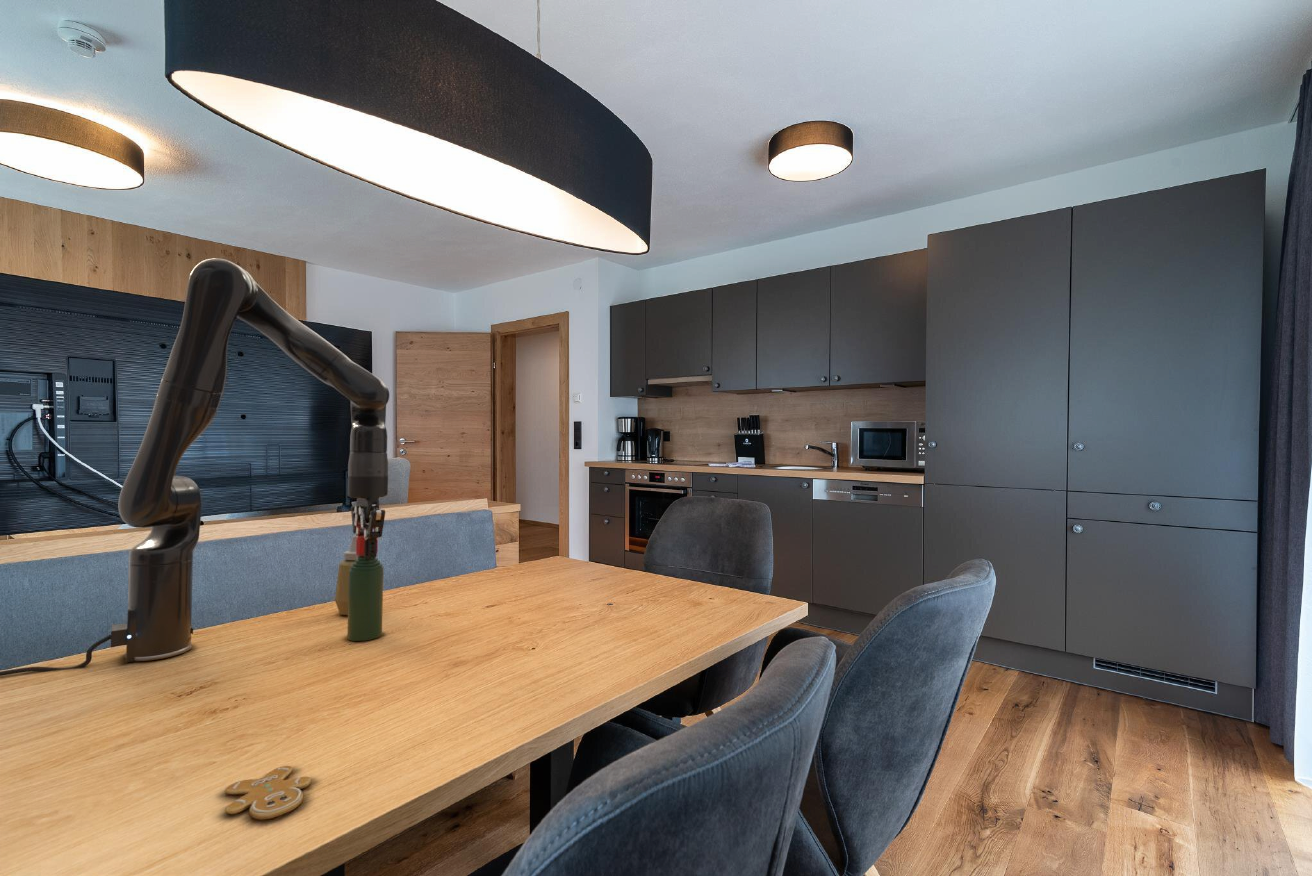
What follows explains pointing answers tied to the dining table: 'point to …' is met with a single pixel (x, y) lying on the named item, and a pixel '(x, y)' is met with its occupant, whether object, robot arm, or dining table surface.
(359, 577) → the sauce bottle
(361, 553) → the cap
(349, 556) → the squeeze bottle
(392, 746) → the dining table surface
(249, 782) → the cookie
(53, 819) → the dining table surface
